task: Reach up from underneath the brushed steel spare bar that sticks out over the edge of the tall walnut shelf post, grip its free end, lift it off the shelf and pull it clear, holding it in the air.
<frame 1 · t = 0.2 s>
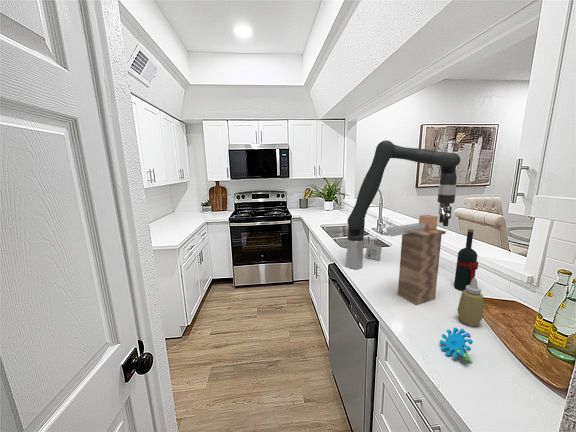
hand: (443, 224, 131), 29 cm above the worktop, tool pointing down, fingers open, 8 cm apart
blue flower: (455, 354, 81), on the worktop
wine bottle: (464, 289, 122), on the worktop
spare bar: (410, 232, 107), point 32 cm above the worktop, touching shelf post
electrical switch: (373, 258, 165), on the worktop
squeeze bottle: (468, 322, 97), on the worktop
shelf post: (416, 297, 116), on the worktop
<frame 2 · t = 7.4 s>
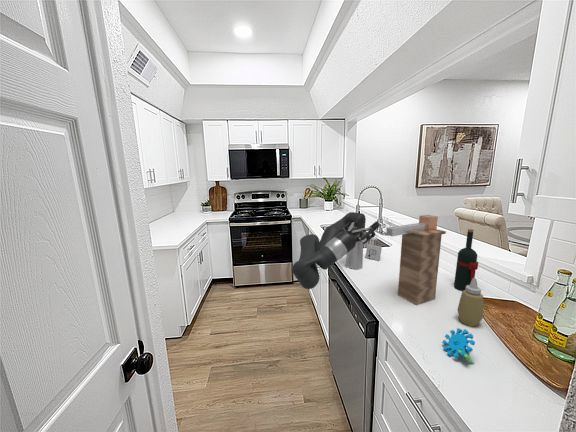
hand: (370, 221, 97), 39 cm above the worktop, tool pointing upward, fingers open, 8 cm apart
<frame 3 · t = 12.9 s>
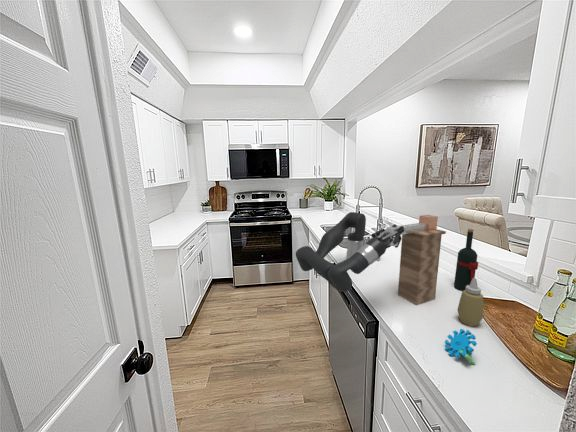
hand: (399, 227, 104), 35 cm above the worktop, tool pointing upward, fingers closed on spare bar, 3 cm apart
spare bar: (410, 232, 107), point 32 cm above the worktop, touching gripper, shelf post
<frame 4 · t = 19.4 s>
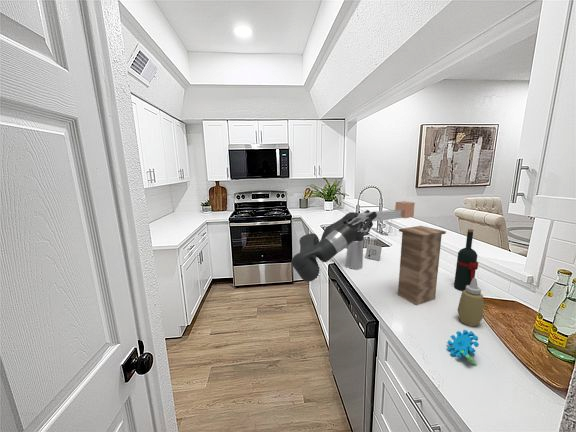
hand: (372, 212, 96), 42 cm above the worktop, tool pointing upward, fingers closed on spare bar, 3 cm apart
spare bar: (384, 218, 100), point 39 cm above the worktop, touching gripper
at the end: the gripper is holding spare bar; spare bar touching gripper; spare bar moved 16.6 cm from its start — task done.
